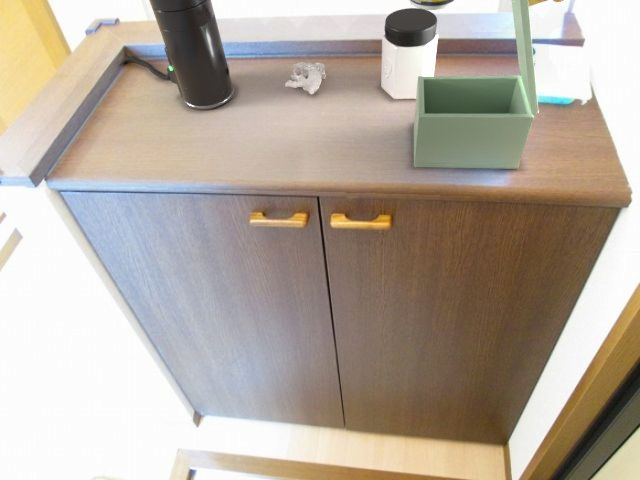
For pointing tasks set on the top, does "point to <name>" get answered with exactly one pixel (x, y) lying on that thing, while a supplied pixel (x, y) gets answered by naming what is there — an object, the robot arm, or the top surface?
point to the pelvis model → (314, 76)
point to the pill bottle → (432, 4)
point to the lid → (526, 48)
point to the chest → (471, 121)
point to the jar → (408, 51)
